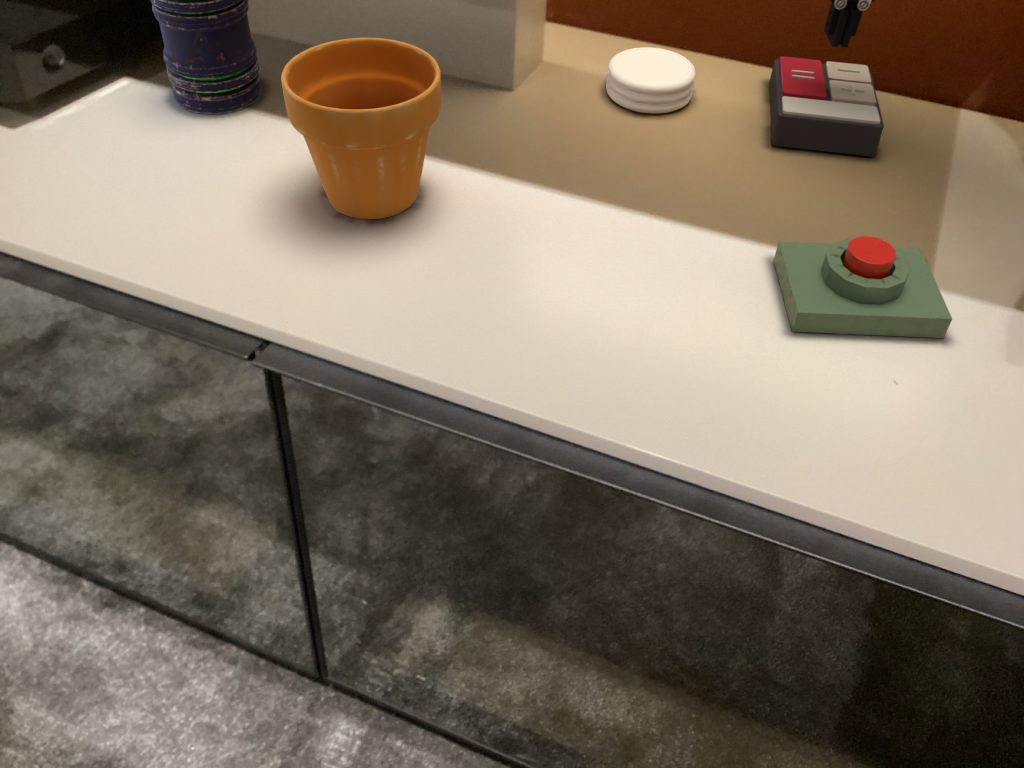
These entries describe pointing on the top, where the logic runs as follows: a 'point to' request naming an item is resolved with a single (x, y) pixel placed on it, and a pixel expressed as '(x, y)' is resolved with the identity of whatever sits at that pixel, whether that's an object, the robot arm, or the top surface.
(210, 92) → the storage jar
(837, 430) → the top surface
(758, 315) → the top surface
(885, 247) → the red push button
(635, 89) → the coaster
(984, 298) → the top surface
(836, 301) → the button box
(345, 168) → the flower pot
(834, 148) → the calculator
